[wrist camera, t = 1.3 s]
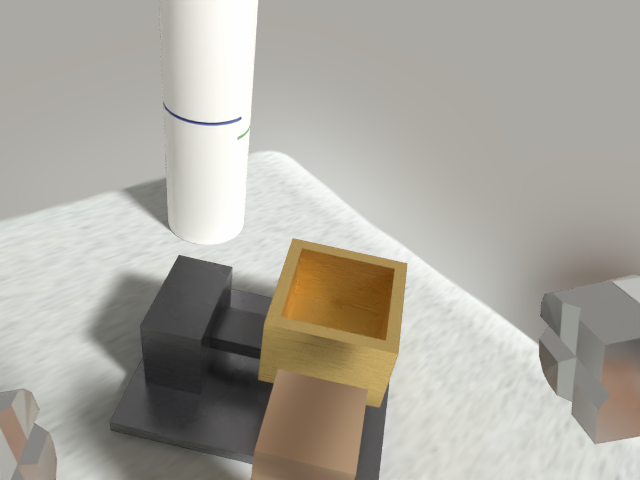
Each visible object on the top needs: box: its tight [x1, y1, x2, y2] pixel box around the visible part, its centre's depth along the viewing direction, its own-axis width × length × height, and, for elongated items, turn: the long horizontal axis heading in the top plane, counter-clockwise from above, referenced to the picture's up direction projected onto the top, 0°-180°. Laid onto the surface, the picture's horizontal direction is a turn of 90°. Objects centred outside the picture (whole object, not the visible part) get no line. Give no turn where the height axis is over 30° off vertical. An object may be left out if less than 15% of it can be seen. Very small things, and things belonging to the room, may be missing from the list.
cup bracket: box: [110, 238, 407, 480], centre depth 42 cm, size 18×14×10 cm
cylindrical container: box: [159, 0, 258, 245], centre depth 50 cm, size 7×7×25 cm
